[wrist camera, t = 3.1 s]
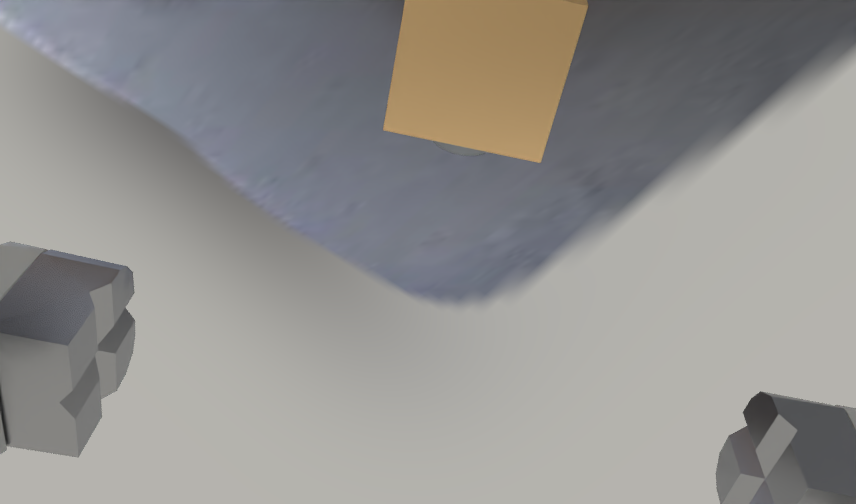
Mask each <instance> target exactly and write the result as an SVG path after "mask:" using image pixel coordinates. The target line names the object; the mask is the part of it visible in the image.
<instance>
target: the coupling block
mask: <svg viewBox="0 0 856 504" xmlns="http://www.w3.org/2000/svg"><path fill="white" fill-rule="evenodd" d="M587 9H588V3H587V0H405V4H404V10H403V16H402V22H401V28H400V33H399V39H398V45H397V51H396V57H395V63H394V69H393V75H392V80H391V86H390V92H389V98H388V104H387V110H386V116H385V122H384V127H383V130H385V131H389V132H394V133H399V134H404V135H409V136H413V137H418V138H423V139H428V140H432V141H433V142H434V143H435V144H436V145H437V146H439V147H440V148H442V149H444V150H446V151H448V152H451V153H454V154H458V155H464V156H477V155H481V154H484V153H486V152H490V153H495V154H500V155H504V156H509V157H514V158H519V159H524V160H528V161H533V162H538V163H541V160H542V156H543V153H544V150H545V147H546V143H547V140H548V137H549V133H550V130H551V127H552V124H553V120H554V117H555V114H556V110H557V107H558V104H559V101H560V97H561V94H562V91H563V88H564V84H565V81H566V78H567V74H568V71H569V68H570V65H571V61H572V58H573V55H574V51H575V48H576V45H577V42H578V38H579V35H580V32H581V29H582V25H583V22H584V19H585V15H586V12H587Z"/></svg>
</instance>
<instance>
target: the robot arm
mask: <svg viewBox="0 0 856 504" xmlns="http://www.w3.org/2000/svg"><path fill="white" fill-rule="evenodd" d="M133 294H134V282H133V272H132V271H131V270H130V269H129V268H128V267H127V266H123V265H118V264H114V263H109V262H105V261H100V260H95V259H91V258H86V257H82V256H77V255H73V254H68V253H63V252H59V251H55V250H46V249H43V248H38V247H33V246H29V245H24V244H20V243H15V242H7V243H4V244H1V245H0V454H1V453H3V452H5V451H6V449H7V447H6V446H10V447H16V448H22V449H28V450H35V451H41V452H47V453H53V454H60V455H66V456H72V457H79V456H80V454H81V452H82V450H83V449H84V447H85V445H86V444H87V442H88V440H89V438H90V437H91V435H92V433H93V431H94V430H95V428H96V426H97V424H98V423H99V421H100V419H101V418H102V411H101V410H102V409H101V399H102V398H104V397H106V396H108V395H110V394H112V393H113V392H115V391H117V389H118V387H119V386H120V384H121V382H122V380H123V378H124V376H125V375H126V372H127V369H128V366H129V363H130V360H131V356H132V354H133V347H134V340H135V320H134V318H133V317H132V316H131V315H130V313H129V312H128V311H127V309H126V308H125V307H126V305H127V304H128V302H129V300H130V299H131V297H132V296H133ZM743 414H744V417H745V420H746V423H747V426H746V427H744V428H742V429H741V430H739V431H737V432H735V433H733V434H731V435H729V437H728V438H727V440H726V442H725V444H724V446H723V448H722V450H721V452H720V454H719V459H718V464H717V470H716V483H717V484H716V485H717V492H718V496H719V500H720V504H856V408H850V407H845V406H840V405H835V406H833V405H829V404H824V403H819V402H813V401H808V400H803V399H797V398H792V397H787V396H781V395H777V394H771V393H766V392H759V393H758V394H756V395H755V396H754V397H753V398H751V400H750V401H749V403H748V405H747V406H746V408H745V409H744V411H743Z"/></svg>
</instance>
